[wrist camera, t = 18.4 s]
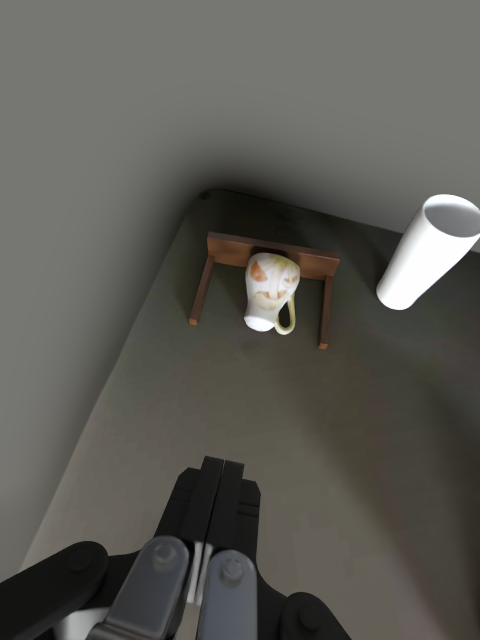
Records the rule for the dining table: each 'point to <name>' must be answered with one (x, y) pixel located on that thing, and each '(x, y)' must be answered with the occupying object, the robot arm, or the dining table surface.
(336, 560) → the dining table surface
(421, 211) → the drinking glass
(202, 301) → the walnut rack
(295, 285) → the mug
